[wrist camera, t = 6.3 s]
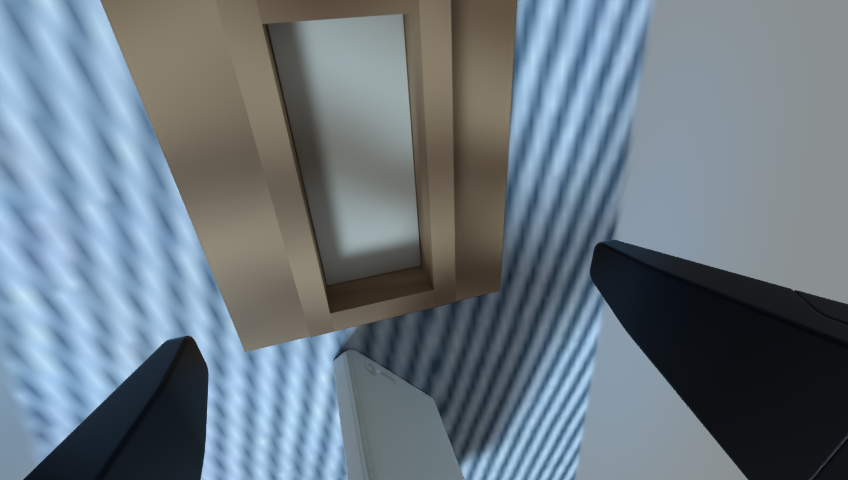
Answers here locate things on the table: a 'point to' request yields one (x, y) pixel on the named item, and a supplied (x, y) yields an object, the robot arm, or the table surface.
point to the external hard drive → (389, 425)
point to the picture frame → (331, 149)
